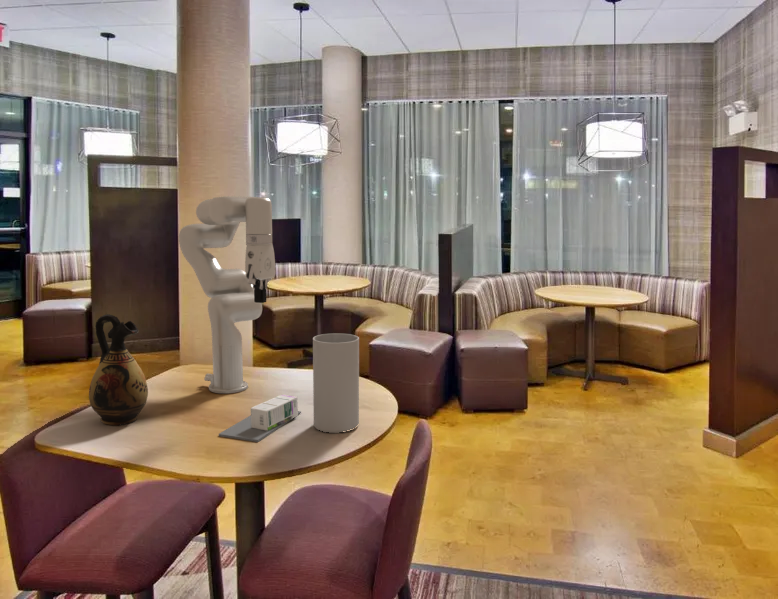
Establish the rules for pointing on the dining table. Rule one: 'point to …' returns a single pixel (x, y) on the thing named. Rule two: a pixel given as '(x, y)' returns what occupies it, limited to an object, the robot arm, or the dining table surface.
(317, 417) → the cylinder vase
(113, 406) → the ceramic jug
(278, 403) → the syrup box
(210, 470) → the dining table surface
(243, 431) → the slate mat
